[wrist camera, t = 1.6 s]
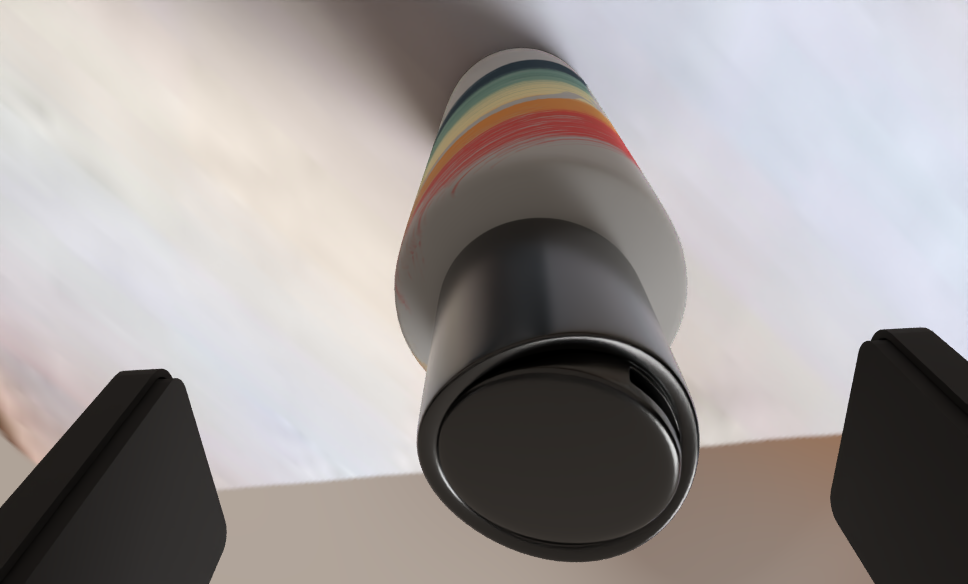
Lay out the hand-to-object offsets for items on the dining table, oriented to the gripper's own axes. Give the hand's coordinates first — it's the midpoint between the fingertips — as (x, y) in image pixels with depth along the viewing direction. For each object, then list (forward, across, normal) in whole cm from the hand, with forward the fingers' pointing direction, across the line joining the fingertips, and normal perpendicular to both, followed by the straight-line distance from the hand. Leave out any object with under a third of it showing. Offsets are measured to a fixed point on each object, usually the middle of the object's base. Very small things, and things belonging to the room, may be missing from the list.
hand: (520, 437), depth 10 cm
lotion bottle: (+19, -1, 0) cm, 19 cm away
